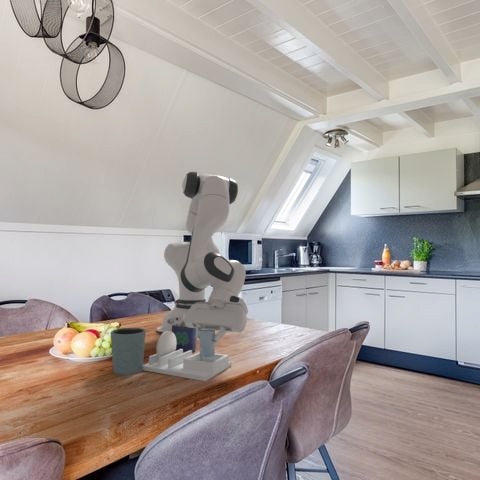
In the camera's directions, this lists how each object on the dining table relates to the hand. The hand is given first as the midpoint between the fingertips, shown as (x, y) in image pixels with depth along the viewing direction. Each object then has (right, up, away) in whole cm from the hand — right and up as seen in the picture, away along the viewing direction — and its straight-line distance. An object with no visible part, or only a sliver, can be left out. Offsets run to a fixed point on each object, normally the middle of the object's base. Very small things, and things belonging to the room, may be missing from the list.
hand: (206, 340), depth 117 cm
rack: (-6, -9, +2) cm, 11 cm away
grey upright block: (0, -5, 0) cm, 5 cm away
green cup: (-23, -9, -1) cm, 25 cm away
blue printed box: (-10, -9, +22) cm, 26 cm away
